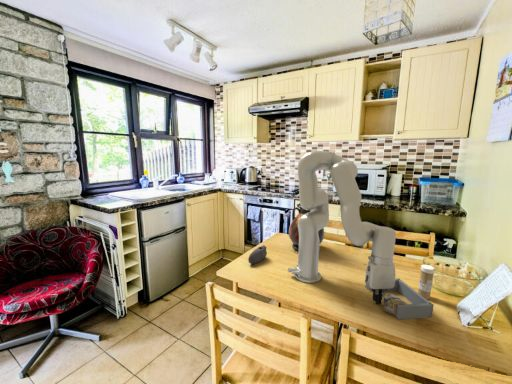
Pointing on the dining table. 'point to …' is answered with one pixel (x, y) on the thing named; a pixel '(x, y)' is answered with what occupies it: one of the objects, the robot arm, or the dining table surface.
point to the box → (419, 303)
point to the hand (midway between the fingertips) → (376, 301)
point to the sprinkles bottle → (426, 281)
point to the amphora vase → (294, 227)
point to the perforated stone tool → (257, 255)
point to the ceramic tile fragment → (391, 303)
